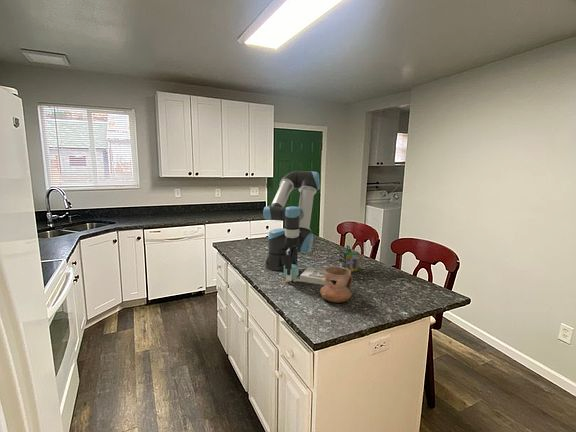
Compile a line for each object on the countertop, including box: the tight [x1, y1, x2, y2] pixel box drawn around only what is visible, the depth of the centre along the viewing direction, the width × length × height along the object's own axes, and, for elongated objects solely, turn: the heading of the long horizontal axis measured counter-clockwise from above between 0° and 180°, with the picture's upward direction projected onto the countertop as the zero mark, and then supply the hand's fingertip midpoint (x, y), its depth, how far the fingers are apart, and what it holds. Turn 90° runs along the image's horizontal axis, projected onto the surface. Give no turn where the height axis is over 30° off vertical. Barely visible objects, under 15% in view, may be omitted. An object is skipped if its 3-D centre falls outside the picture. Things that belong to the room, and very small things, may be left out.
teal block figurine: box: [283, 264, 300, 283], centre depth 165 cm, size 7×5×8 cm
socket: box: [299, 266, 327, 286], centre depth 171 cm, size 20×16×4 cm
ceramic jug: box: [319, 265, 353, 304], centre depth 145 cm, size 18×14×14 cm
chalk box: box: [338, 245, 360, 273], centre depth 186 cm, size 9×9×15 cm
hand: (291, 278), depth 166 cm, fingers closed on teal block figurine, 5 cm apart
